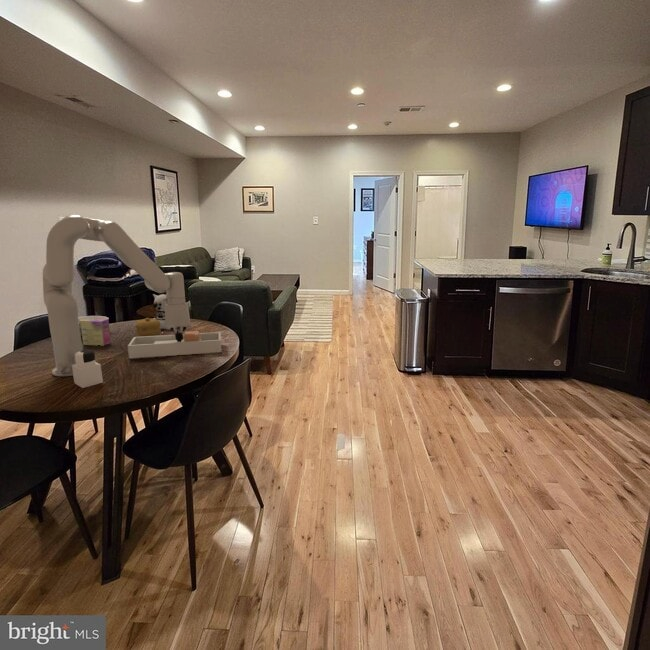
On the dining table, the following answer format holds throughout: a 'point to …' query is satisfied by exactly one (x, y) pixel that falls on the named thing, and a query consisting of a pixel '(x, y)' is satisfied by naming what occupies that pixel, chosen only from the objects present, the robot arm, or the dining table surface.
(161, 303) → the decorative figurine
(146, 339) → the channel
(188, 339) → the block
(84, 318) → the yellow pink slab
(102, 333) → the box
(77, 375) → the medicine bottle
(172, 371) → the dining table surface
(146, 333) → the pot
